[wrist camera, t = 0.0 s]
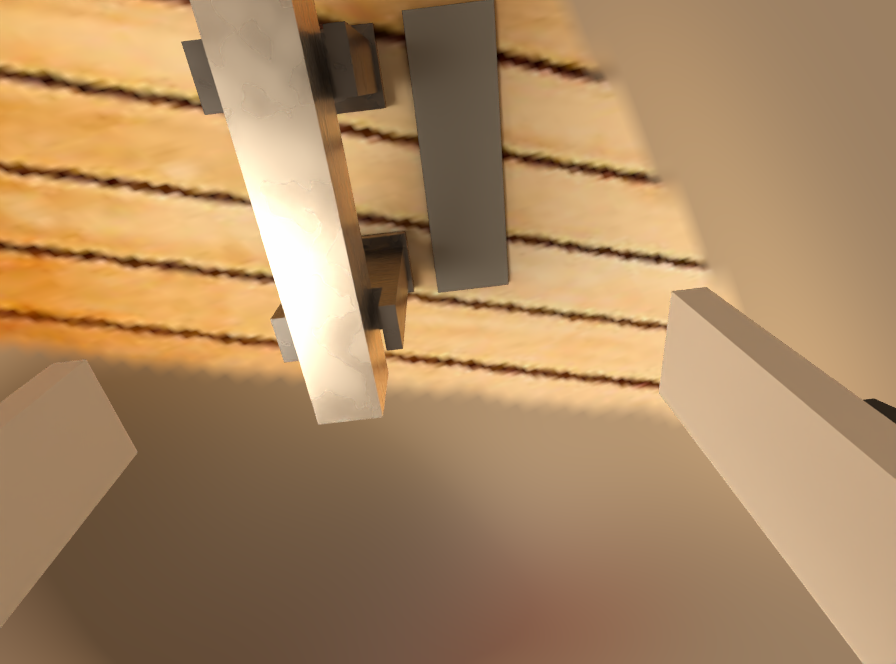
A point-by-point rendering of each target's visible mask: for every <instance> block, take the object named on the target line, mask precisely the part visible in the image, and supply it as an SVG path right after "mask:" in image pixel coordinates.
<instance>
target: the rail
mask: <svg viewBox="0 0 896 664" xmlns="http://www.w3.org/2000/svg"><path fill="white" fill-rule="evenodd" d="M190 3H191V6H192V9H193V12H194V16H195V19H196V22H197V26H198V29H199V32H200V35H201V39H202V42H203V45H204V49H205V52H206V55H207V59H208V62H209V65H210V68H211V72H212V75H213V78H214V82H215V85H216V88H217V92H218V95H219V98H220V101H221V105H222V108H223V111H224V115H225V118H226V121H227V125H228V128H229V131H230V134H231V138H232V141H233V144H234V148H235V151H236V154H237V158H238V161H239V164H240V167H241V171H242V174H243V177H244V181H245V184H246V187H247V191H248V194H249V197H250V200H251V204H252V207H253V210H254V214H255V217H256V220H257V223H258V227H259V230H260V233H261V237H262V240H263V243H264V247H265V250H266V253H267V256H268V260H269V263H270V266H271V270H272V273H273V276H274V280H275V283H276V286H277V289H278V293H279V296H280V299H281V303H282V306H283V309H284V313H285V316H286V319H287V322H288V326H289V329H290V332H291V336H292V339H293V342H294V346H295V349H296V352H297V355H298V359H299V362H300V365H301V369H302V372H303V375H304V378H305V382H306V385H307V388H308V392H309V395H310V398H311V402H312V405H313V408H314V411H315V415H316V418H317V421H318V424H326V423H335V422H344V421H352V420H361V419H370V418H379V417H383V411H384V404H385V396H386V388H387V380H388V368H387V363H386V358H385V353H384V348H383V343H382V338H381V333H380V328H379V323H378V318H377V313H376V308H375V303H374V298H373V293H372V288H371V283H370V278H369V273H368V268H367V263H366V258H365V253H364V248H363V243H362V238H361V233H360V228H359V223H358V218H357V213H356V208H355V203H354V198H353V193H352V188H351V183H350V178H349V173H348V168H347V163H346V158H345V153H344V148H343V143H342V138H341V133H340V128H339V123H338V118H337V113H336V108H335V103H334V98H333V93H332V88H331V83H330V78H329V74H328V69H327V64H326V59H325V54H324V49H323V44H322V39H321V34H320V29H319V24H318V19H317V14H316V9H315V4H314V0H190Z"/></svg>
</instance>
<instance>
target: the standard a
mask: <svg viewBox="0 0 896 664" xmlns="http://www.w3.org/2000/svg"><path fill="white" fill-rule="evenodd" d="M320 34H321V39H322V44H323V49H324V54H325V59H326V64H327V69H328V74H329V78H330V83H331V88H332V93H333V98H334V103H335V108H336V113H337V114H340V113H348V112H356V111H365V110H373V109H381V108H386V102H385V96H384V89H383V83H382V76H381V70H380V63H379V57H378V50H377V44H376V37H375V31H374V24H373V23H368V24H360V25H352V26H350V25H349V24H347V23H346V22H345V21H343V22H335V23H327V24H323V29H320ZM181 43H182V46H183V49H184V52H185V55H186V58H187V61H188V64H189V67H190V71H191V74H192V77H193V80H194V83H195V86H196V89H197V92H198V95H199V99H200V102H201V105H202V108H203V111H204V114H205V115H208V114H216V113H224V111H223V108H222V105H221V101H220V98H219V95H218V92H217V88H216V85H215V82H214V78H213V75H212V72H211V68H210V65H209V62H208V59H207V55H206V52H205V49H204V45H203V42H202V39H199V40H191V41H183V42H181Z"/></svg>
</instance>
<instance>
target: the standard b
mask: <svg viewBox="0 0 896 664" xmlns="http://www.w3.org/2000/svg"><path fill="white" fill-rule="evenodd" d="M361 238H362V243H363V248H364V253H365V258H366V263H367V268H368V273H369V278H370V283H371V288H372V293H373V298H374V303H375V308H376V313H377V318H378V323H379V328H380V329H383V334H384V339H385V344H386V349H387V350H396V349H403V342H404V330H405V318H406V306H407V295H408V293H409V292H414V284H413V278H412V271H411V265H410V258H409V252H408V245H407V239H406V232H405V231H400V232H392V233H383V234H375V235H367V236H361ZM271 323H272V326H273V329H274V332H275V335H276V338H277V341H278V344H279V347H280V351H281V354H282V357H283V360H284V362H292V361H299V359H298V355H297V352H296V349H295V346H294V342H293V339H292V336H291V332H290V329H289V326H288V322H287V319H286V316H285V313H284V309H283V306H282V303H281V304H280V306H279V307H278V309H277V310H276V312H275V313H274V315H273V316H272V318H271Z"/></svg>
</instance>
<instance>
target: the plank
mask: <svg viewBox="0 0 896 664" xmlns="http://www.w3.org/2000/svg"><path fill="white" fill-rule="evenodd" d="M402 14H403V22H404V30H405V38H406V46H407V53H408V61H409V69H410V77H411V85H412V92H413V100H414V108H415V116H416V123H417V131H418V139H419V147H420V155H421V162H422V170H423V178H424V186H425V194H426V201H427V209H428V217H429V225H430V233H431V240H432V248H433V256H434V264H435V271H436V279H437V287H438V293H440V292H448V291H457V290H465V289H474V288H482V287H491V286H500V285H508V266H507V246H506V227H505V207H504V188H503V168H502V148H501V129H500V109H499V90H498V70H497V51H496V31H495V11H494V0H484V1H476V2H468V3H460V4H452V5H444V6H436V7H428V8H420V9H412V10H404V11H402Z"/></svg>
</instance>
